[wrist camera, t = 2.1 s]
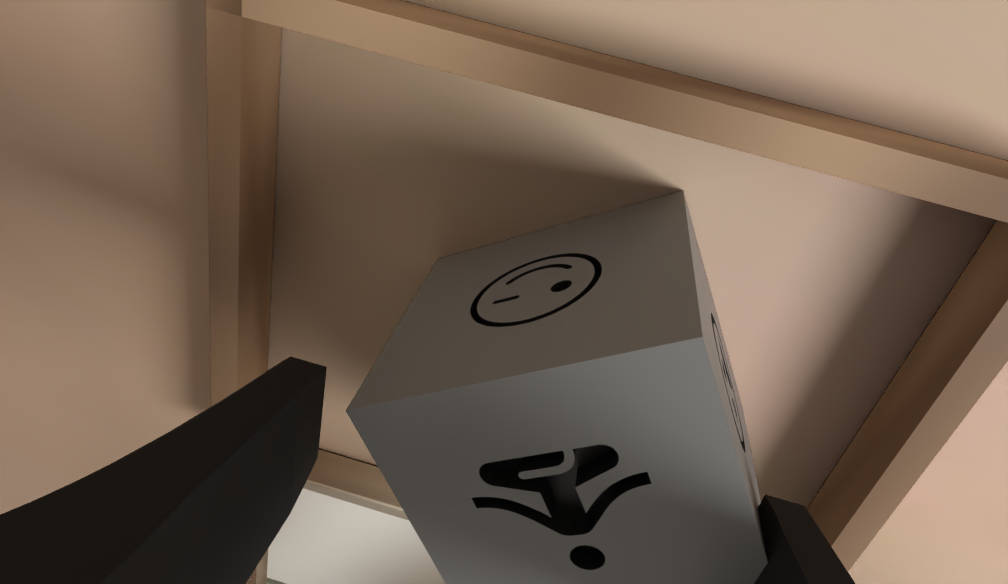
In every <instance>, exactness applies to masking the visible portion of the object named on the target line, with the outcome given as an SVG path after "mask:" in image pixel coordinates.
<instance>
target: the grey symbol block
mask: <svg viewBox="0 0 1008 584" xmlns="http://www.w3.org/2000/svg"><path fill="white" fill-rule="evenodd" d="M346 412H347V414H348V415H349V417H350V419H351V420H352V422H353V424H354V426H355V427H356V429H357V431H358V433H359V434H360V436H361V438H362V440H363V441H364V443H365V445H366V446H367V448H368V450H369V452H370V453H371V455H372V457H373V459H374V460H375V462H376V464H377V466H378V467H379V469H380V471H381V472H382V474H383V476H384V478H385V479H386V481H387V483H388V485H389V486H390V488H391V490H392V491H393V493H394V495H395V497H396V498H397V500H398V502H399V504H400V505H401V507H402V509H403V511H404V512H405V514H406V516H407V517H408V519H409V521H410V523H411V524H412V526H413V528H414V530H415V531H416V533H417V535H418V537H419V538H420V540H421V542H422V543H423V545H424V547H425V549H426V550H427V552H428V554H429V556H430V557H431V559H432V561H433V563H434V564H435V566H436V568H437V569H438V571H439V573H440V575H441V576H442V578H443V580H444V582H445V583H446V584H754V583H755V581H756V580H757V578H758V577H759V575H760V574H761V572H762V571H763V569H764V568H765V566H766V565H767V563H768V560H767V555H766V550H765V544H764V539H763V534H762V529H761V523H760V518H759V513H758V506H759V505H760V503H761V500H760V495H759V489H758V484H757V479H756V474H755V469H754V464H753V459H752V454H751V448H750V443H749V438H748V433H747V428H746V423H745V418H744V413H743V407H742V403H741V400H740V396H739V392H738V389H737V385H736V381H735V378H734V374H733V370H732V367H731V363H730V360H729V356H728V352H727V349H726V345H725V341H724V338H723V334H722V330H721V327H720V323H719V319H718V316H717V312H716V308H715V305H714V301H713V297H712V294H711V290H710V286H709V283H708V279H707V275H706V272H705V268H704V264H703V261H702V257H701V253H700V250H699V246H698V243H697V239H696V235H695V232H694V228H693V224H692V221H691V217H690V213H689V210H688V206H687V202H686V199H685V195H684V191H683V190H682V191H679V192H675V193H672V194H668V195H665V196H661V197H657V198H654V199H650V200H647V201H643V202H640V203H636V204H632V205H629V206H625V207H622V208H618V209H614V210H611V211H607V212H604V213H600V214H597V215H593V216H589V217H586V218H582V219H579V220H575V221H572V222H568V223H564V224H561V225H557V226H554V227H550V228H547V229H543V230H539V231H536V232H532V233H529V234H525V235H522V236H518V237H514V238H511V239H507V240H504V241H500V242H496V243H493V244H489V245H486V246H482V247H479V248H475V249H471V250H468V251H464V252H461V253H457V254H454V255H450V256H446V257H443V258H439V259H437V261H436V263H435V264H434V266H433V268H432V269H431V271H430V273H429V274H428V276H427V278H426V279H425V281H424V283H423V284H422V286H421V287H420V289H419V291H418V292H417V294H416V296H415V297H414V299H413V301H412V302H411V304H410V306H409V307H408V309H407V311H406V312H405V314H404V316H403V317H402V319H401V321H400V322H399V324H398V325H397V327H396V329H395V330H394V332H393V334H392V335H391V337H390V339H389V340H388V342H387V344H386V345H385V347H384V349H383V350H382V352H381V354H380V355H379V357H378V359H377V360H376V362H375V363H374V365H373V367H372V368H371V370H370V372H369V373H368V375H367V377H366V378H365V380H364V382H363V383H362V385H361V387H360V388H359V390H358V392H357V393H356V395H355V397H354V398H353V400H352V401H351V403H350V405H349V406H348V408H347V410H346Z"/></svg>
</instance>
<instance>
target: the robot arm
mask: <svg viewBox="0 0 1008 584" xmlns="http://www.w3.org/2000/svg"><path fill="white" fill-rule="evenodd" d="M326 368H327V367H325V366H321V365H318V364H314V363H311V362H307V361H304V360H301V359H297V358H294V357H289V358H287V359H285V360H284V361H282V362H280V363H279V364H277V365H276V366H274V367H273V368H271V369H269V370H268V371H266V372H265V373H263V374H262V375H260V376H259V377H257V378H256V379H254V380H253V381H251V382H249V383H248V384H246V385H245V386H243V387H242V388H240V389H239V390H237V391H235V392H234V393H232V394H231V395H229V396H228V397H226V398H224V399H223V400H221V401H220V402H218V403H216V404H215V405H213V406H212V407H210V408H208V409H207V410H205V411H203V412H202V413H200V414H198V415H197V416H195V417H193V418H192V419H190V420H188V421H187V422H185V423H183V424H182V425H180V426H178V427H177V428H175V429H173V430H172V431H170V432H168V433H166V434H165V435H163V436H161V437H159V438H157V439H156V440H154V441H152V442H150V443H148V444H146V445H145V446H143V447H141V448H139V449H137V450H135V451H134V452H132V453H130V454H128V455H126V456H124V457H123V458H121V459H119V460H117V461H115V462H113V463H111V464H110V465H108V466H106V467H104V468H102V469H100V470H98V471H96V472H94V473H92V474H90V475H88V476H86V477H84V478H82V479H80V480H77V481H75V482H73V483H71V484H69V485H67V486H65V487H63V488H60V489H58V490H56V491H54V492H52V493H50V494H47V495H45V496H43V497H41V498H39V499H37V500H34V501H32V502H30V503H27V504H25V505H23V506H20V507H18V508H15V509H13V510H11V511H8V512H6V513H3V514H1V515H0V584H246V582H247V580H248V579H249V577H250V576H251V574H252V573H253V571H254V570H255V568H256V567H257V565H258V563H259V562H260V560H261V559H262V557H263V556H264V554H265V553H266V551H267V549H268V548H269V546H270V545H271V543H272V542H273V540H274V538H275V537H276V535H277V534H278V532H279V531H280V529H281V528H282V526H283V524H284V523H285V521H286V520H287V518H288V516H289V515H290V513H291V511H292V509H293V507H294V505H295V503H296V501H297V499H298V497H299V495H300V493H301V491H302V489H303V487H304V485H305V483H306V481H307V479H308V477H309V475H310V473H311V471H312V468H313V466H314V464H315V462H316V460H317V458H318V449H319V439H320V429H321V419H322V408H323V398H324V388H325V378H326ZM758 513H759V518H760V523H761V529H762V534H763V539H764V544H765V550H766V555H767V560H768V563H767V565H766V566H765V568H764V569H763V571H762V572H761V574H760V575H759V577H758V578H757V580H756V581H755V583H754V584H855V582H854V581H853V579H852V578H851V576H850V575H849V573H848V572H847V570H846V568H845V567H844V565H843V564H842V562H841V561H840V559H839V558H838V556H837V555H836V553H835V552H834V550H833V548H832V547H831V545H830V544H829V542H828V541H827V539H826V538H825V536H824V535H823V533H822V532H821V530H820V529H819V527H818V526H817V524H816V523H815V521H814V520H813V518H812V517H811V515H810V514H809V512H808V511H807V509H806V508H805V507H804V506H802V505H799V504H796V503H792V502H789V501H785V500H782V499H778V498H775V497H772V496H768V495H765V496H764V498H763V500H762V501H761V503H760V505H759V506H758Z"/></svg>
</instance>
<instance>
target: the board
mask: <svg viewBox="0 0 1008 584" xmlns="http://www.w3.org/2000/svg"><path fill="white" fill-rule="evenodd" d="M282 28H286V29H290V30H293V31H297V32H301V33H305V34H308V35H312V36H316V37H319V38H323V39H327V40H331V41H334V42H338V43H342V44H345V45H349V46H353V47H357V48H360V49H364V50H368V51H371V52H375V53H379V54H383V55H386V56H390V57H394V58H397V59H401V60H405V61H409V62H412V63H416V64H420V65H423V66H427V67H431V68H435V69H438V70H442V71H446V72H449V73H453V74H457V75H461V76H464V77H468V78H472V79H475V80H479V81H483V82H487V83H490V84H494V85H498V86H501V87H505V88H509V89H513V90H516V91H520V92H524V93H527V94H531V95H535V96H539V97H542V98H546V99H550V100H553V101H557V102H561V103H565V104H568V105H572V106H576V107H579V108H583V109H587V110H591V111H594V112H598V113H602V114H606V115H609V116H613V117H617V118H620V119H624V120H628V121H632V122H635V123H639V124H643V125H646V126H650V127H654V128H658V129H661V130H665V131H669V132H672V133H676V134H680V135H684V136H687V137H691V138H695V139H698V140H702V141H706V142H710V143H713V144H717V145H721V146H724V147H728V148H732V149H736V150H739V151H743V152H747V153H750V154H754V155H758V156H762V157H765V158H769V159H773V160H776V161H780V162H784V163H788V164H791V165H795V166H799V167H802V168H806V169H810V170H814V171H817V172H821V173H825V174H828V175H832V176H836V177H840V178H843V179H847V180H851V181H854V182H858V183H862V184H866V185H869V186H873V187H877V188H880V189H884V190H888V191H892V192H895V193H899V194H903V195H906V196H910V197H914V198H918V199H921V200H925V201H929V202H932V203H936V204H940V205H944V206H947V207H951V208H955V209H958V210H962V211H966V212H970V213H973V214H977V215H981V216H984V217H988V218H992V219H996V220H997V222H996V223H995V225H994V226H993V228H992V229H991V231H990V232H989V234H988V235H987V237H986V238H985V240H984V241H983V243H982V244H981V246H980V247H979V249H978V250H977V252H976V253H975V255H974V257H973V258H972V260H971V261H970V263H969V264H968V266H967V267H966V269H965V270H964V272H963V273H962V275H961V276H960V278H959V279H958V281H957V282H956V284H955V285H954V287H953V288H952V290H951V291H950V293H949V295H948V296H947V298H946V299H945V301H944V302H943V304H942V305H941V307H940V308H939V310H938V311H937V313H936V314H935V316H934V317H933V319H932V320H931V322H930V323H929V325H928V326H927V328H926V329H925V331H924V333H923V334H922V336H921V337H920V339H919V340H918V342H917V343H916V345H915V346H914V348H913V349H912V351H911V352H910V354H909V355H908V357H907V358H906V360H905V361H904V363H903V364H902V366H901V367H900V369H899V371H898V372H897V374H896V375H895V377H894V378H893V380H892V381H891V383H890V384H889V386H888V387H887V389H886V390H885V392H884V393H883V395H882V396H881V398H880V399H879V401H878V402H877V404H876V405H875V407H874V409H873V410H872V412H871V413H870V415H869V416H868V418H867V419H866V421H865V422H864V424H863V425H862V427H861V428H860V430H859V431H858V433H857V434H856V436H855V437H854V439H853V440H852V442H851V443H850V445H849V447H848V448H847V450H846V451H845V453H844V454H843V456H842V457H841V459H840V460H839V462H838V463H837V465H836V466H835V468H834V469H833V471H832V472H831V474H830V475H829V477H828V478H827V480H826V481H825V483H824V484H823V486H822V488H821V489H820V491H819V492H818V494H817V495H816V497H815V498H814V500H813V501H812V503H811V504H810V506H809V507H808V509H807V511H808V512H809V514H810V515H811V517H812V518H813V520H814V521H815V523H816V524H817V526H818V527H819V529H820V530H821V532H822V533H823V535H824V536H825V538H826V539H827V541H828V542H829V544H830V545H831V547H832V548H833V550H834V552H835V553H836V555H837V556H838V558H839V559H840V561H841V562H842V564H843V565H844V567H845V568H846V570H847V572H848V571H849V570H850V568H851V567H852V566H853V564H854V563H855V562H856V560H857V559H858V558H859V556H860V555H861V554H862V552H863V551H864V550H865V549H866V547H867V546H868V545H869V543H870V542H871V541H872V539H873V538H874V537H875V535H876V534H877V533H878V531H879V530H880V529H881V527H882V526H883V525H884V523H885V522H886V521H887V519H888V518H889V517H890V515H891V514H892V513H893V512H894V510H895V509H896V508H897V506H898V505H899V504H900V502H901V501H902V500H903V498H904V497H905V496H906V494H907V493H908V492H909V490H910V489H911V488H912V486H913V485H914V484H915V482H916V481H917V480H918V479H919V477H920V476H921V475H922V473H923V472H924V471H925V469H926V468H927V467H928V465H929V464H930V463H931V461H932V460H933V459H934V457H935V456H936V455H937V453H938V452H939V451H940V449H941V448H942V447H943V446H944V444H945V443H946V442H947V440H948V439H949V438H950V436H951V435H952V434H953V432H954V431H955V430H956V428H957V427H958V426H959V424H960V423H961V422H962V420H963V419H964V418H965V416H966V415H967V414H968V413H969V411H970V410H971V409H972V407H973V406H974V405H975V403H976V402H977V401H978V399H979V398H980V397H981V395H982V394H983V393H984V391H985V390H986V389H987V387H988V386H989V385H990V383H991V382H992V381H993V379H994V378H995V377H996V376H997V374H998V373H999V372H1000V370H1001V369H1002V368H1003V366H1004V365H1005V364H1006V362H1007V361H1008V161H1006V160H1002V159H998V158H995V157H991V156H987V155H983V154H980V153H976V152H972V151H968V150H964V149H961V148H957V147H953V146H949V145H946V144H942V143H938V142H934V141H930V140H927V139H923V138H919V137H915V136H912V135H908V134H904V133H900V132H896V131H893V130H889V129H885V128H881V127H878V126H874V125H870V124H866V123H862V122H859V121H855V120H851V119H847V118H844V117H840V116H836V115H832V114H828V113H825V112H821V111H817V110H813V109H810V108H806V107H802V106H798V105H794V104H791V103H787V102H783V101H779V100H776V99H772V98H768V97H764V96H760V95H757V94H753V93H749V92H745V91H742V90H738V89H734V88H730V87H726V86H723V85H719V84H715V83H711V82H708V81H704V80H700V79H696V78H692V77H689V76H685V75H681V74H677V73H673V72H670V71H666V70H662V69H658V68H655V67H651V66H647V65H643V64H639V63H636V62H632V61H628V60H624V59H621V58H617V57H613V56H609V55H605V54H602V53H598V52H594V51H590V50H587V49H583V48H579V47H575V46H571V45H568V44H564V43H560V42H556V41H553V40H549V39H545V38H541V37H537V36H534V35H530V34H526V33H522V32H519V31H515V30H511V29H507V28H503V27H500V26H496V25H492V24H488V23H485V22H481V21H477V20H473V19H469V18H466V17H462V16H458V15H454V14H451V13H447V12H443V11H439V10H435V9H432V8H428V7H424V6H420V5H417V4H413V3H409V2H405V1H401V0H206V53H207V127H208V202H209V276H210V351H211V407H212V406H213V405H215V404H216V403H218V402H220V401H221V400H223V399H224V398H226V397H228V396H229V395H231V394H232V393H234V392H235V391H237V390H239V389H240V388H242V387H243V386H245V385H246V384H248V383H249V382H251V381H253V380H254V379H256V378H257V377H259V376H260V375H262V374H263V373H265V372H266V371H267V368H268V345H269V321H270V297H271V273H272V249H273V225H274V201H275V177H276V154H277V130H278V106H279V82H280V58H281V34H282ZM256 584H446V583H445V582H444V580H443V578H442V576H441V575H440V573H439V571H438V569H437V568H436V566H435V564H434V563H433V561H432V559H431V557H430V556H429V554H428V552H427V550H426V549H425V547H424V545H423V543H422V542H421V540H420V538H419V537H418V535H417V533H416V531H415V530H414V528H413V526H412V524H411V523H410V521H409V519H408V517H407V516H406V514H405V512H404V511H403V509H402V507H401V505H400V504H399V502H398V500H397V498H396V497H395V495H394V493H393V491H392V490H391V488H390V486H389V485H388V483H387V481H386V479H385V478H384V476H383V474H382V472H381V471H380V469H379V467H376V466H373V465H369V464H366V463H363V462H359V461H356V460H353V459H349V458H346V457H343V456H339V455H336V454H333V453H329V452H326V451H323V450H319V449H318V458H317V460H316V462H315V464H314V466H313V468H312V471H311V473H310V475H309V477H308V479H307V481H306V483H305V485H304V487H303V489H302V491H301V493H300V495H299V497H298V499H297V501H296V503H295V505H294V507H293V509H292V511H291V513H290V515H289V516H288V518H287V520H286V521H285V523H284V524H283V526H282V528H281V529H280V531H279V532H278V534H277V535H276V537H275V538H274V540H273V542H272V543H271V545H270V546H269V548H268V549H267V551H266V553H265V554H264V556H263V557H262V559H261V560H260V562H259V563H258V565H257V567H256Z"/></svg>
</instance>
